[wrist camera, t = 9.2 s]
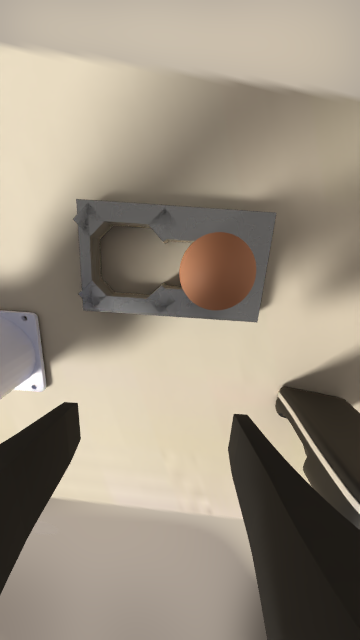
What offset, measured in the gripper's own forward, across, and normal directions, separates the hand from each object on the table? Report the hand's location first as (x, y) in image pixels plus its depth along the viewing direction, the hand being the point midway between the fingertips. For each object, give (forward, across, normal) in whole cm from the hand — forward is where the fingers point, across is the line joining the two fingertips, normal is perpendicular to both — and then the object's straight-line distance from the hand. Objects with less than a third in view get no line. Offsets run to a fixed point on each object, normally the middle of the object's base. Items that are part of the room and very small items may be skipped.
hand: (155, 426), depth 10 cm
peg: (+10, -3, -7) cm, 13 cm away
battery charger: (+11, -14, +6) cm, 19 cm away
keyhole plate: (+10, 0, -7) cm, 13 cm away
